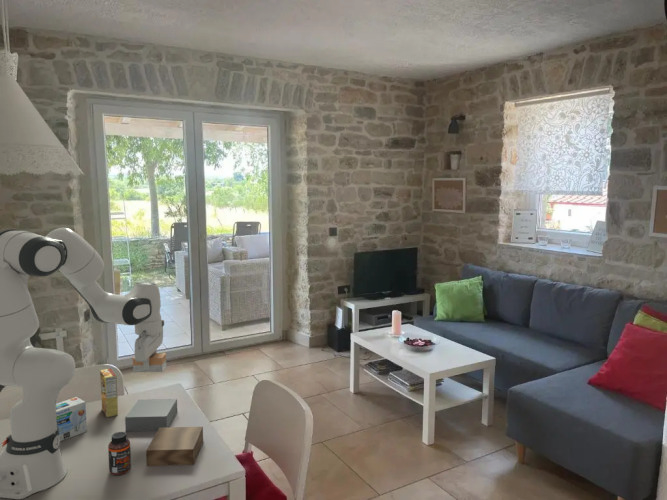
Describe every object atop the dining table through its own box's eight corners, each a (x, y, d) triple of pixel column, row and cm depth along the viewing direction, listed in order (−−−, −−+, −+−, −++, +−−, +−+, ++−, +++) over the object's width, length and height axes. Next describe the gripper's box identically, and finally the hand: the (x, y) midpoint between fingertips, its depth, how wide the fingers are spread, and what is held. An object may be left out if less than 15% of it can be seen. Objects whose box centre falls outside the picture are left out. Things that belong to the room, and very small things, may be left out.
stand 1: (125, 431, 168) (125, 417, 167) (139, 412, 182) (138, 399, 181) (167, 429, 169) (166, 416, 168) (177, 411, 182) (176, 398, 182)
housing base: (166, 366, 175) (166, 359, 175) (162, 371, 170) (162, 364, 170) (138, 367, 175) (137, 360, 174) (133, 372, 170) (133, 365, 169)
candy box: (101, 409, 184) (99, 370, 182) (113, 406, 187) (111, 367, 185) (106, 417, 177) (104, 377, 175) (119, 414, 180) (117, 375, 178)
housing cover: (166, 359, 175) (165, 350, 175) (162, 364, 170) (161, 355, 170) (137, 360, 174) (137, 350, 174) (133, 365, 169) (132, 355, 169)
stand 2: (146, 466, 147) (145, 450, 146) (160, 441, 161) (159, 427, 160) (193, 464, 148) (193, 449, 147) (203, 440, 162) (202, 426, 161)
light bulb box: (55, 443, 159) (53, 412, 158) (46, 437, 163) (44, 407, 162) (88, 430, 168) (86, 401, 166) (78, 425, 172) (76, 396, 170)
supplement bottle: (117, 478, 140) (115, 442, 139) (105, 472, 143) (102, 436, 142) (135, 468, 145) (133, 433, 144) (123, 462, 148) (121, 427, 147)
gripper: (147, 336, 160) (149, 376, 162) (165, 319, 181) (167, 355, 182) (128, 336, 160) (130, 376, 162) (148, 319, 180) (150, 355, 182)
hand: (150, 365), depth 172 cm, fingers closed on housing base, housing cover, 5 cm apart
